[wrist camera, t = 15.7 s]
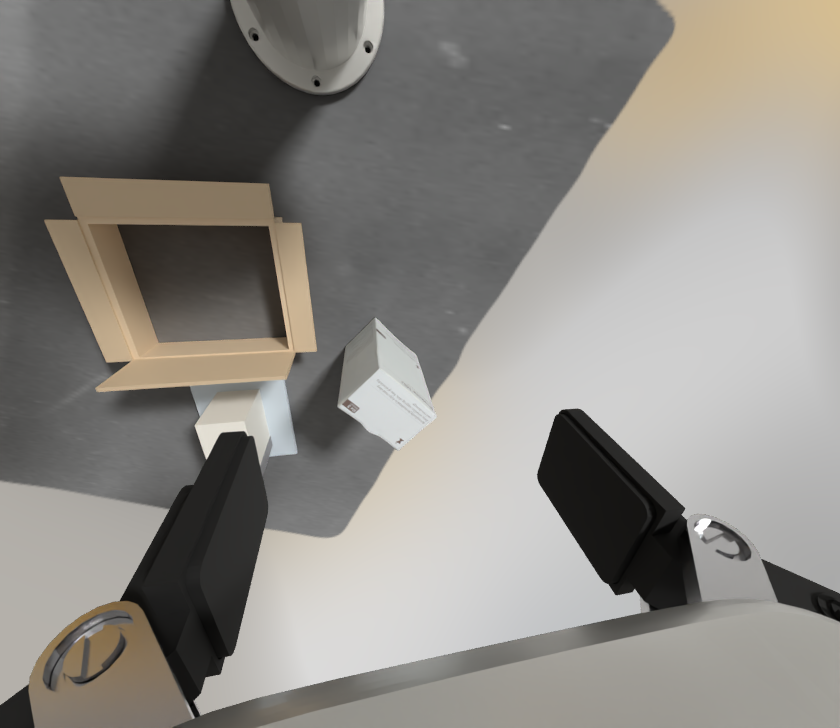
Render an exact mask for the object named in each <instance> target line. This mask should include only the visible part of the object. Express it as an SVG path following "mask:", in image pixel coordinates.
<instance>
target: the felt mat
mask: <svg viewBox="0 0 840 728" xmlns="http://www.w3.org/2000/svg"><path fill="white" fill-rule="evenodd" d="M190 388H191V392H192V395H193V398H194V401H195V404H196V407H197V410H198V413H199V416H200V417H201V415H202V414H203V412H204V411H205V410H206V408H207V407H208V405H209V404H210V402H211V401H212V399H213V398H214V396H215V395H216V393H217V392H227V391H241V390H255V389H260V394H261V398H262V403H263V407H264V412H265V416H266V421H267V425H268V430H269V434H270V436H271V440H272V444H273V446H272V449H271V452H270V456H280V455H289V454H297V452H298V451H297V445H296V440H295V434H294V429H293V423H292V417H291V412H290V406H289V401H288V395H287V390H286V384H285V380H270V381H255V382H240V383H225V384H210V385H195V386H190ZM270 456H269V457H270Z"/></svg>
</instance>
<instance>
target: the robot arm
mask: <svg viewBox="0 0 840 728" xmlns="http://www.w3.org/2000/svg"><path fill="white" fill-rule="evenodd" d="M230 2H231V6H232V9H233V12H234V14H235V17H236V20H237V22H238V25H239V27H240V29H241V31H242V33H243V35H244V36H245V38H246V40H247V42H248V44H249V45H250V47H251V48H252V50H253V51H254V53H255V54H256V56H257V57H258V58H259V59H260V60H261V62H262V63H263V64H264V65H265V66H266V67H267V68H268V70H270V71H271V72H272V73H273V74H274V75H275V76H277V77H278V78H279V79H280V80H281V81H283V82H285V83H286V84H288V85H290V86H291V87H293V88H295V89H297V90H300V91H303V92H306V93H309V94H316V95H330V94H336V93H339V92H342V91H344V90H347V89H348V88H350V87H351V86H353V85H354V84H356V83H357V82H358V81H359V80H360V79H361V78H362V77H363V76H364V75H365V74H366V73H367V71H368V69H369V68H370V66H371V65H372V63H373V61H374V59H375V56H376V54H377V51H378V49H379V46H380V41H381V37H382V32H383V24H384V0H230ZM255 35H257V36H258V37H259V40H258V41H254V36H255ZM367 47H368V48H369V49H370V51H371V52H370V53H366V51H365V48H367ZM315 81H319V83H320V86H319V87H316V86H315V85H314V82H315ZM537 477H538V481H539V484H540V486H541V487H542V489H543V490H544V492H545V493H546V495H547V496H548V498H549V499H550V501H551V503H552V504H553V506H554V507H555V508H556V510H557V512H558V513H559V515H560V516H561V518H562V519H563V521H564V522H565V524H566V526H567V527H568V529H569V530H570V532H571V533H572V535H573V536H574V538H575V540H576V541H577V543H578V544H579V546H580V547H581V549H582V550H583V552H584V553H585V555H586V557H587V558H588V559H589V561H590V563H591V564H592V566H593V567H594V569H595V570H596V572H597V574H598V575H599V577H600V578H601V579H602V580H603V581H604V582H605V583H607V584H609V586H610V587H611V589H612V590H613V592H614V593H615V595H620V594H625V593H630V592H633V590H634V589H636V591H637V592H638V594H639V595H640V601H641V613H640V614H635V615H630V616H626V617H621V618H616V619H611V620H607V621H602V622H597V623H592V624H588V625H583V626H578V627H574V628H568V629H564V630H559V631H554V632H550V633H546V634H540V635H536V636H531V637H526V638H522V639H517V640H512V641H508V642H504V643H498V644H494V645H489V646H485V647H480V648H475V649H471V650H466V651H461V652H457V653H452V654H448V655H443V656H439V657H434V658H430V659H425V660H421V661H416V662H412V663H407V664H402V665H398V666H393V667H389V668H385V669H380V670H375V671H371V672H367V673H362V674H357V675H353V676H348V677H344V678H339V679H335V680H331V681H327V682H323V683H319V684H314V685H310V686H306V687H302V688H298V689H294V690H290V691H285V692H281V693H277V694H273V695H269V696H265V697H260V698H256V699H253V700H249V701H246V702H243V703H240V704H236V705H233V706H230V707H226V708H222V709H219V710H216V711H212V712H210V713H207V714H204V715H201V713H200V711H199V708H198V707H197V704H196V702H195V699H196V698H197V697H198V696H199V694H201V690H202V687H203V684H204V680H205V677H209V676H214V675H219V674H221V670H222V667H223V663H224V659H225V657H227V656H231V655H232V654H233V652H234V650H235V646H236V642H237V639H238V634H239V630H240V626H241V622H242V618H243V614H244V610H245V605H246V601H247V597H248V593H249V589H250V585H251V580H252V577H253V572H254V568H255V564H256V560H257V555H258V552H259V548H260V543H261V539H262V535H263V531H264V527H265V523H266V518H267V514H268V501H267V496H266V491H265V487H264V482H263V477H262V472H261V468H260V463H259V458H258V454H257V449H256V444H255V440H254V437H253V436H247V433H246V432H245V431H236V432H222V433H221V434H220V435H219V437H218V439H217V440H216V442H215V444H214V446H213V448H212V450H211V452H210V454H209V456H208V458H207V460H206V462H205V464H204V466H203V468H202V470H201V472H200V474H199V476H198V478H197V480H196V481H195V483H194V485H188V486H185V487H183V488H182V489H181V491H180V492H179V494H178V495H177V497H176V499H175V501H174V503H173V504H172V506H171V508H170V510H169V512H168V514H167V515H166V517H165V519H164V522H163V523H162V525H161V526H160V528H159V530H158V532H157V534H156V536H155V537H154V539H153V541H152V543H151V545H150V546H149V548H148V550H147V552H146V554H145V556H144V557H143V559H142V561H141V563H140V565H139V567H138V569H137V570H136V572H135V574H134V576H133V578H132V579H131V581H130V583H129V585H128V587H127V589H126V591H125V592H124V594H123V596H122V598H121V600H120V601H118V602H112V603H109V604H106V605H102V606H99V607H97V608H95V609H93V610H91V611H90V612H88V613H86V614H84V615H82V616H80V617H79V618H78V619H76V620H75V621H74V622H73V623H71V624H70V625H68V626H67V627H66V628H65V629H64V630H62V632H61V633H59V634H58V635H57V636H56V637H55V638H54V639H53V640H52V641H51V642H50V644H49V645H48V646H47V647H46V649H45V650H44V651H43V653H42V654H41V656H40V657H39V658H38V660H37V662H36V664H35V666H34V668H33V671H32V673H31V675H30V680H29V685H27V686H26V687H24V688H23V689H22V690H20V691H19V692H18V693H16V694H15V695H14V696H12V697H11V698H10V699H8V700H7V701H6V702H4V703H3V704H1V705H0V728H840V594H839V593H837V592H835V591H833V590H830V589H828V588H826V587H824V586H821V585H819V584H817V583H815V582H812V581H810V580H808V579H806V578H803V577H801V576H799V575H797V574H794V573H792V572H790V571H788V570H785V569H783V568H781V567H779V566H776V565H774V564H772V563H770V562H767V561H765V560H763V559H761V557H760V555H759V553H758V551H757V549H756V548H755V546H754V544H753V543H752V542H751V541H750V540H749V539H748V538H747V537H746V536H745V535H744V534H742V533H741V532H740V531H739V530H738V529H736V528H734V527H733V526H731V525H729V524H728V523H726V522H725V521H722V520H720V519H718V518H716V517H713V516H709V515H706V514H694V515H691V516H690V517H689V518H688V519H687V520H686V519H685V518H684V517H683V516H682V515H681V514H682V513H683V512H684V510H685V508H684V507H683V506H682V505H681V504H680V503H679V502H678V501H677V500H676V499H675V498H674V497H673V496H672V495H671V494H670V493H669V492H668V491H667V490H666V489H664V488H663V487H662V486H661V485H660V484H659V483H658V482H657V481H656V480H655V479H654V478H653V477H652V476H651V475H650V474H649V473H648V472H647V471H646V470H644V469H643V468H642V467H641V466H640V465H639V464H638V463H637V462H636V461H635V460H634V459H633V458H632V457H631V456H630V455H629V454H628V453H626V451H625V450H623V449H622V448H621V447H620V446H619V445H618V444H617V443H616V442H615V441H614V440H613V439H612V438H611V437H610V436H609V435H608V434H607V433H606V432H604V431H603V430H602V429H601V428H600V427H599V426H598V425H597V424H596V423H595V422H594V421H593V420H592V419H591V418H590V417H589V416H588V415H587V414H586V413H585V412H584V411H582V410H581V409H565V410H561V411H560V412H559V414H558V415H556V416H555V419H554V422H553V425H552V428H551V432H550V435H549V438H548V441H547V444H546V447H545V451H544V454H543V457H542V460H541V463H540V467H539V470H538V474H537Z"/></svg>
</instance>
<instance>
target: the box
mask: <svg viewBox="0 0 840 728" xmlns="http://www.w3.org/2000/svg"><path fill="white" fill-rule="evenodd" d="M195 428H196V431H197V434H198V437H199V440H200V443H201V446H202V449H203V452H204V455H205V457H206V460H207V458H208V456H209V454H210V452H211V450H212V448H213V446H214V444H215V442H216V440H217V439H218V437H219V435H220V434H221V433H222V432H236V431H245V432H246V433H247V436H253V437H254V440H255V444H256V449H257V454H258V458H259V463H260V468H261V472H262V477H263V475H264V472H265V468H266V465H267V462H268V459H269V456H270V452H271V449H272V446H273V444H272V440H271V436H270V434H269V430H268V425H267V421H266V416H265V412H264V407H263V403H262V398H261V394H260V389H255V390H241V391H227V392H217V393H216V395H215V396H214V398H213V399H212V401H211V402H210V404H209V405H208V407H207V408H206V410H205V411H204V412H203V414H202V415H201V417H200V418H199V420H198V421H197V423H196V424H195Z"/></svg>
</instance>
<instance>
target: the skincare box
mask: <svg viewBox="0 0 840 728" xmlns="http://www.w3.org/2000/svg"><path fill="white" fill-rule="evenodd" d="M338 408H339V409H341V410H342V411H344V412H345V413H347V414H348V415H350V416H351V417H353V418H354V419H355V420H357V421H358V422H360V423H361V424H362V425H363V426H364V428H365V429H366V430H367V431H369V432H370V433H372V434H375V435H378V436H379V437H381V438H382V439H383V440H385V441H386V442H387V443H389V444H390V445H391V446H392V447H393V448H394V449H396V450H400V449H401V448H402V447H403V446H404V445H405V444H406V443H408V442H409V441H410V440H411V439H412V438H413V437H414V436H416V435H417V434H418V433H419V432H420V431H421V430H422V429H423V428H425V427H426V426H427V425H428V424H430V423H431V422H432V421H433V420H434V419H435V418H436V417H437V416H436V413H435V410H434V408H433V404H432V401H431V398H430V395H429V392H428V389H427V386H426V383H425V379H424V376H423V373H422V371H421V367H420V364H419V361H418V358H417V356H416V354H415V353H414V352H412V351H411V350H410V349H408V348H407V347H406V346H405V345H404V344H403V343H401V342H400V341H399V340H398V339H397V338H396V337H395V336H394V335H393V334H392V333H391V332H390V331H389V330H388V329H387V328H386V327H385V326H384V325H383V324H382V323H381V322H380V321H379V320H378V319H377V318H374V319H373V320H372V321H371V322H370V323H369V324H368V325H367V326H366V327H365V328H364V329H363V330H362V331H361V332H360V333H359V334H358V335H357V336H356V337H355V338H354V339H353V340H352V341H351V342H349V343H348V344H347V345H346V347H345V355H344V362H343V369H342V377H341V385H340V392H339V399H338Z"/></svg>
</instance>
